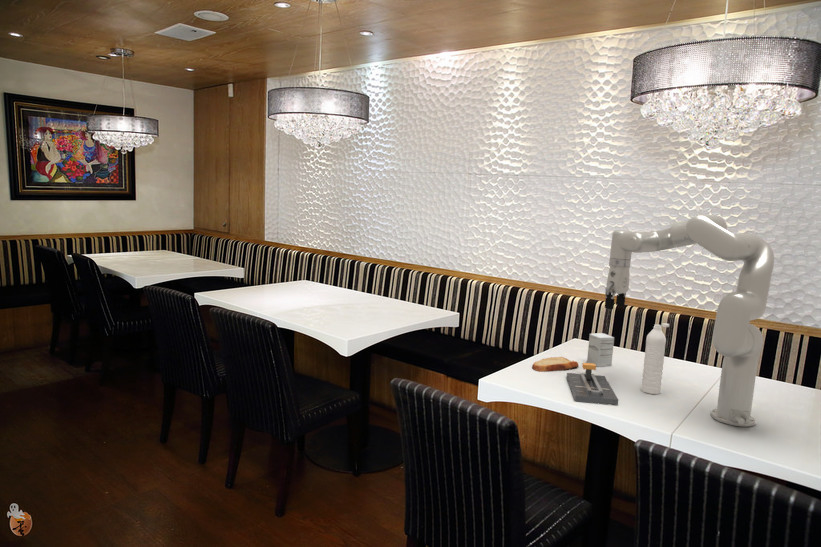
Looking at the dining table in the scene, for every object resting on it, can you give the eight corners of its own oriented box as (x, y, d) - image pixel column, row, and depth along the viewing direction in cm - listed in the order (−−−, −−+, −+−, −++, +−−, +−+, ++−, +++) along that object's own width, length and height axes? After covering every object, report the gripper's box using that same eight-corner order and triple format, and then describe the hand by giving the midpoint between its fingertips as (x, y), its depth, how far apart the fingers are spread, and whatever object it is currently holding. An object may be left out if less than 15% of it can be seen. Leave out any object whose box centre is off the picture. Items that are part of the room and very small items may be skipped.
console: (617, 405, 190) (618, 396, 190) (575, 401, 192) (575, 392, 192) (604, 381, 216) (604, 372, 215) (566, 377, 218) (567, 369, 217)
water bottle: (651, 395, 202) (659, 327, 198) (637, 389, 207) (644, 323, 204) (668, 392, 206) (675, 325, 202) (653, 386, 211) (660, 321, 208)
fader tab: (594, 380, 209) (596, 365, 208) (582, 379, 210) (583, 364, 209) (593, 378, 212) (594, 363, 211) (581, 377, 212) (582, 362, 212)
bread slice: (530, 371, 225) (531, 362, 225) (535, 359, 242) (535, 351, 242) (577, 377, 220) (578, 368, 219) (578, 365, 237) (579, 356, 236)
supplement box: (586, 362, 240) (588, 333, 239) (601, 361, 243) (603, 332, 241) (597, 367, 233) (599, 337, 232) (612, 366, 236) (614, 337, 234)
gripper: (619, 265, 204) (614, 311, 207) (638, 263, 217) (633, 306, 219) (599, 263, 209) (594, 308, 212) (619, 260, 222) (614, 302, 225)
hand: (614, 307), depth 216 cm, fingers open, 9 cm apart
